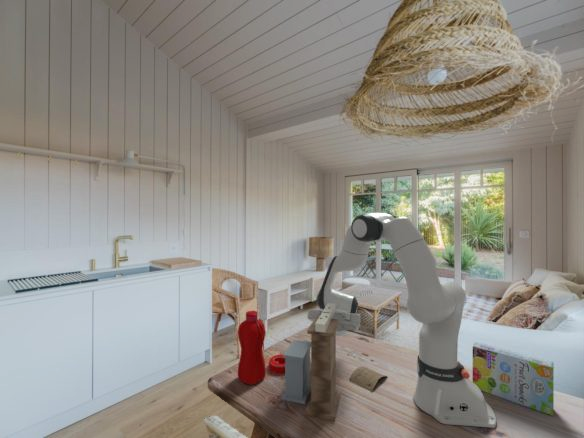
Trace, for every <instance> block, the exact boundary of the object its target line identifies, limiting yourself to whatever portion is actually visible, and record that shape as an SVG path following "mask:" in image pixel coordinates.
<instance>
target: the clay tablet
mask: <svg viewBox="0 0 584 438" xmlns="http://www.w3.org/2000/svg"><path fill="white" fill-rule="evenodd" d="M383 377H385V375H384V374H382V373H380V372H377V371H375V370H373V369H371V368H368V367H366V366H363V365H361V366H358V367H357V368H356V369H354V370H353V372H352V373H351V374H350V377H349V379H348V381H349V382H350V383H352V384H353V385H356V386H358V387H361V388H362V389H365V390H367V391H369V392H371V393H372V392H373V391H374V388H375V387H376V386H377V385H376V384H377V383H378V380H380V379H381V378H383Z"/></svg>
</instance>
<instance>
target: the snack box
mask: <svg viewBox="0 0 584 438" xmlns="http://www.w3.org/2000/svg"><path fill="white" fill-rule="evenodd" d="M554 368H555V367H554V361H552V360H549V359H548V360H547V359H544V358H541V357H540V358H539V357H537V356H532V355H528V354H525V353H524V354H523V353H522V352H521V353H520V352H517V351H512V350H510V349H506V348H501V347H497V346H492V345H488V344H485V343H482V342H478V341H475V342H474V344H473V345H472V382H473V383H474V384H476V385H477V386H478V388H479V389H480V390H481V392H484V393H487V394H490V395H493V396H495V397H498V398H501V399H504V400H507V401H509V402H512V403H515V404H517V405H521V406H524V407H527V408H529V409H532V410H535V411H537V412H540V413H542V414H546V415H549V416H552V417H554V407H555V406H554V405H555V404H554V395H555V393H554V388H555V387H554V385H555V383H554V375H555V372H554Z"/></svg>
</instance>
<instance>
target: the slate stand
mask: <svg viewBox="0 0 584 438" xmlns="http://www.w3.org/2000/svg"><path fill="white" fill-rule="evenodd" d="M282 355H283V358H285V373H284V374H285V376H284V377H285V381H284V383H285V385H284V386H285V387H284V388H285V390H284V391H283V393H282V394H281V400H282V401H287V402H293V403H298V404H301V405H306V402H307V401H308V397H309V394H311V393H310V392H311V341H306V340H300V339H299V340H298V339H293V340H292V341H291V343H290V344H289V345H288V347H287V348H286V349H285V351H284V353H283V354H282Z"/></svg>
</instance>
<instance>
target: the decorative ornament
mask: <svg viewBox="0 0 584 438" xmlns="http://www.w3.org/2000/svg"><path fill="white" fill-rule="evenodd" d="M268 370H269V371H270V372H272V373H273V374H276V375H277V374H281V375H283V374H285V358H283V354H275V355H272V356H271V357H270V358H269V359H268Z"/></svg>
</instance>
